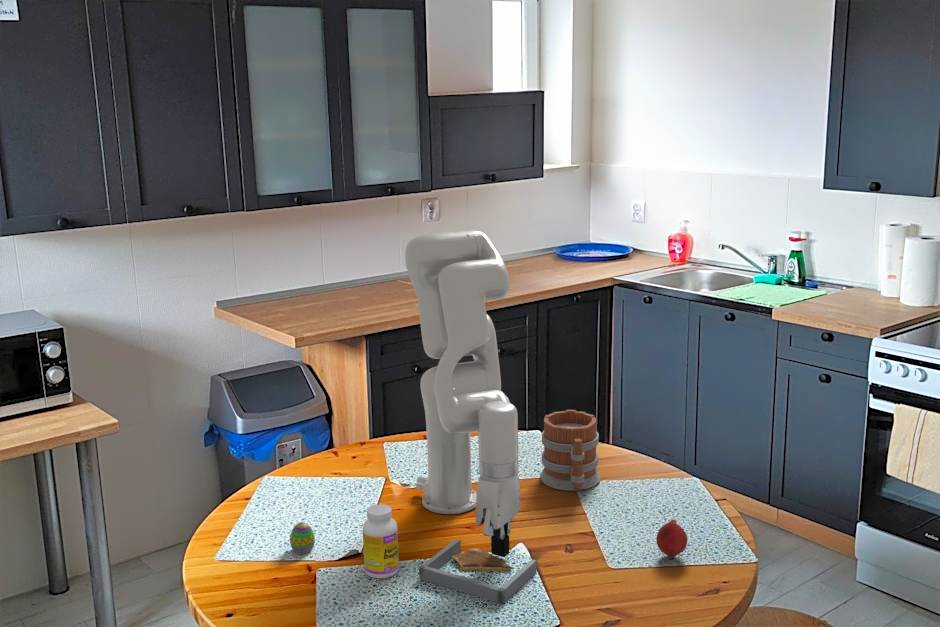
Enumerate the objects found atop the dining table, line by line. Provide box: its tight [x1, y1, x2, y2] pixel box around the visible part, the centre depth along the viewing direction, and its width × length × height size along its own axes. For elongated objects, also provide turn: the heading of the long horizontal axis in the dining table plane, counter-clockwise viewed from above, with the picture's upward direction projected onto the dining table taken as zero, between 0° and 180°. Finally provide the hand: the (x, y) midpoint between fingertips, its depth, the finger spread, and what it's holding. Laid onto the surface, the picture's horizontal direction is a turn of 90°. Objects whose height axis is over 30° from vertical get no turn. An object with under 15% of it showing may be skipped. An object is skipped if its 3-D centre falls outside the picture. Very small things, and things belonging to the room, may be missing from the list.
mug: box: [539, 409, 601, 492], centre depth 219 cm, size 14×19×15 cm
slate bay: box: [418, 538, 538, 605], centre depth 181 cm, size 18×13×2 cm
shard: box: [452, 548, 514, 572], centre depth 184 cm, size 11×8×2 cm
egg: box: [289, 521, 316, 555], centre depth 192 cm, size 5×5×6 cm
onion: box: [655, 518, 688, 559], centre depth 185 cm, size 6×6×8 cm
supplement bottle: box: [362, 503, 400, 579], centre depth 182 cm, size 7×7×13 cm
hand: (500, 553), depth 187 cm, fingers closed
